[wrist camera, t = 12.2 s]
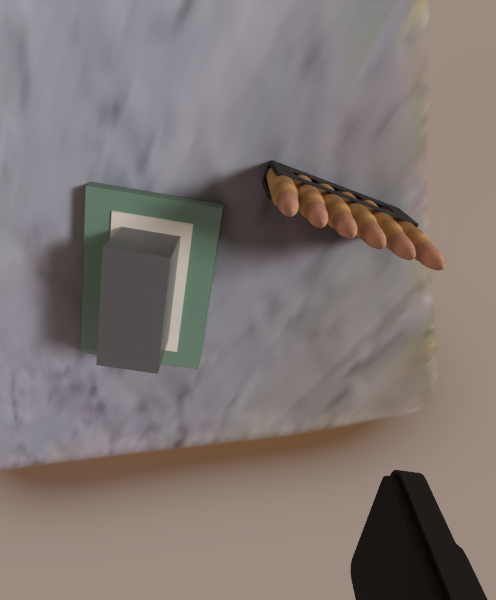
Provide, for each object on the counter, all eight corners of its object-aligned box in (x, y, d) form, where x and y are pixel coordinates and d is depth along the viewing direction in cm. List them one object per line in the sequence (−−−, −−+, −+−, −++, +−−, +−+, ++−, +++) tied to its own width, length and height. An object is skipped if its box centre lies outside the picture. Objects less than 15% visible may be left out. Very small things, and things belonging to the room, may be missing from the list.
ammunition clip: (261, 183, 35) (267, 223, 24) (270, 159, 35) (280, 189, 24) (388, 230, 37) (449, 288, 26) (399, 208, 36) (466, 258, 25)
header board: (91, 182, 35) (70, 194, 31) (223, 204, 36) (220, 219, 31) (85, 343, 41) (66, 372, 36) (200, 360, 41) (194, 391, 37)
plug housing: (121, 226, 35) (102, 246, 30) (180, 236, 35) (170, 257, 30) (114, 332, 38) (96, 364, 34) (168, 340, 39) (157, 373, 34)
